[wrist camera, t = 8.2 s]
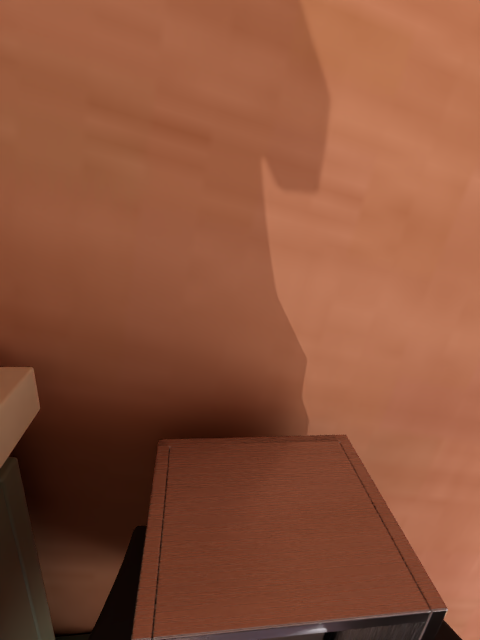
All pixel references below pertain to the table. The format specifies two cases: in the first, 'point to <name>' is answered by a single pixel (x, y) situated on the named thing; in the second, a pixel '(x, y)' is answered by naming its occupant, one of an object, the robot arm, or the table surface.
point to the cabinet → (74, 637)
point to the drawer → (18, 518)
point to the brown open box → (276, 547)
